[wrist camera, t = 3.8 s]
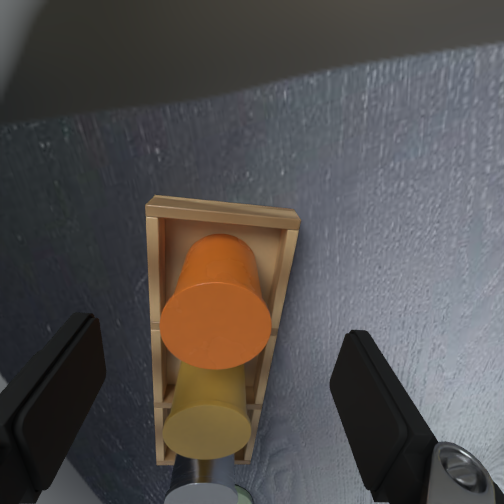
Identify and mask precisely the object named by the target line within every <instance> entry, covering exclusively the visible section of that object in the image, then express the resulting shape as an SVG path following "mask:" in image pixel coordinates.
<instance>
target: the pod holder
mask: <svg viewBox="0 0 504 504" xmlns="http://www.w3.org/2000/svg"><path fill="white" fill-rule="evenodd" d="M145 210H146V232H147V255H148V278H149V300H150V321H151V322H150V323H151V346H152V368H153V391H154V415H155V438H156V460H157V465H174V460H175V454H176V453H175V452H174V451H172V450H171V449H170V448H169V447H168V446H167V445H166V443H165V442H164V439H163V435H162V431H163V426H164V422H165V420H166V418H167V417H168V416H169V414H170V412H171V407H172V402H173V397H174V392H175V388H176V383H177V378H178V373H179V368H180V364H181V360H180V359H178V358H177V357H175V356H174V355H173V354H172V353H171V352H170V351H169V350H168V349H167V347H166V346H165V344H164V342H163V340H162V337H161V334H160V327H159V325H160V318H161V314H162V311H163V309H164V306H165V305H166V303H167V301H168V300H169V299H170V298H171V297H172V295H173V294H174V291H175V288H176V285H177V282H178V279H179V276H180V273H181V270H182V267H183V264H184V261H185V258H186V255H187V253H188V251H189V249H190V248H191V247H192V245H193V244H194V243H195V242H197V241H198V240H199V239H201V238H203V237H205V236H208V235H212V234H229V235H232V236H235V237H237V238H239V239H241V240H243V241H244V242H245V243H246V244H247V245H248V246H249V247H250V248H251V250H252V251H253V253H254V256H255V259H256V264H257V269H258V275H259V281H260V286H261V292H262V298H263V300H264V301H265V303H266V305H267V307H268V309H269V312H270V316H271V321H272V329H271V335H270V338H269V340H268V342H267V344H266V346H265V347H264V348H263V350H262V351H261V352H260V353H259V354H258V355H257V356H255V357H254V358H253V359H251V360H250V361H248V362H246V363H244V371H245V389H246V408H247V415H248V417H249V419H250V422H251V436H250V439H249V441H248V442H247V444H246V445H245V446H244V447H243V448H241V449H240V450H239V451H237V452H235V453H234V454H235V464H250V462H251V457H252V452H253V448H254V443H255V438H256V433H257V429H258V424H259V419H260V414H261V409H262V405H263V400H264V395H265V390H266V386H267V381H268V376H269V371H270V367H271V362H272V357H273V352H274V347H275V343H276V338H277V333H278V327H279V323H280V319H281V314H282V309H283V304H284V300H285V295H286V290H287V285H288V280H289V276H290V271H291V266H292V261H293V257H294V252H295V247H296V242H297V237H298V233H299V231H298V230H299V228H300V223H301V219H300V218H299V216H298V215H297V214H296V212H295V210H294V209H288V208H278V207H268V206H259V205H249V204H239V203H229V202H219V201H209V200H200V199H190V198H180V197H170V196H160V195H155V196H154V197H153V198H152V199H151V200H150V201H149V202H148V203H147V204H146V205H145Z"/></svg>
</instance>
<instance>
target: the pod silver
mask: <svg viewBox="0 0 504 504" xmlns="http://www.w3.org/2000/svg"><path fill="white" fill-rule="evenodd" d="M237 503H238V492H237V490H236V488H235V454H234V453H233V454H231V455H229V456H226V457H222V458H217V459H208V460H201V459H193V458H188V457H184V456H182V455H179V454H177V453H176V454H175V460H174V466H173V472H172V478H171V484H170V489H169V490H168V491H167V493H166V495H165V500H164V504H237Z"/></svg>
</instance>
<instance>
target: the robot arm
mask: <svg viewBox="0 0 504 504" xmlns="http://www.w3.org/2000/svg"><path fill="white" fill-rule="evenodd" d="M105 377H106V366H105V359H104V352H103V345H102V337H101V330H100V323H99V319H98V318H95V317H94V315H93V314H91V313H73V314H72V315H71V316H70V318H69V319H68V320H67V321H66V322H65V323H64V325H63V326H62V327H61V328H60V329H59V330H58V332H57V333H56V334H55V335H54V336H53V337H52V339H51V340H50V341H49V342H48V343H47V344H46V346H45V347H44V348H43V349H42V350H40V351H38V352H37V353H36V354H35V355H34V356H33V357H32V358H31V359H30V360H29V361H28V362H27V364H26V365H25V366H24V367H23V368H22V369H21V370H20V372H19V373H18V374H17V375H16V376H15V377H14V379H13V380H12V381H11V382H10V383H9V384H8V385H7V387H6V388H5V389H4V390H3V391H2V392H1V393H0V504H35V503H36V502H37V500H38V498H39V496H40V494H41V492H42V490H47V489H48V488H49V487H50V485H51V484H52V482H53V480H54V478H55V476H56V474H57V472H58V470H59V468H60V466H61V464H62V462H63V460H64V459H65V457H66V455H67V453H68V451H69V449H70V447H71V445H72V443H73V441H74V439H75V437H76V435H77V433H78V431H79V429H80V427H81V425H82V423H83V421H84V419H85V418H86V416H87V414H88V412H89V410H90V408H91V406H92V404H93V402H94V400H95V398H96V396H97V394H98V392H99V390H100V388H101V386H102V384H103V382H104V380H105ZM330 391H331V394H332V396H333V399H334V402H335V405H336V408H337V411H338V413H339V416H340V419H341V422H342V425H343V427H344V430H345V433H346V436H347V439H348V442H349V444H350V447H351V450H352V453H353V456H354V459H355V461H356V464H357V467H358V470H359V473H360V475H361V478H362V481H363V484H364V486H365V488H366V489H367V490H370V492H371V494H372V497H373V500H374V502H389V503H390V504H504V495H503V494H501V493H500V492H498V491H497V490H495V489H494V485H493V481H492V479H491V477H490V475H489V473H488V471H487V470H486V469H485V467H484V466H483V465H482V464H481V462H480V461H479V460H478V459H477V458H475V457H474V456H473V455H472V454H471V453H470V452H468V451H467V450H465V449H464V448H462V447H460V446H458V445H456V444H454V443H450V442H438V441H437V439H436V438H435V436H434V434H433V433H432V431H431V430H430V428H429V427H428V425H427V423H426V422H425V420H424V419H423V417H422V416H421V414H420V412H419V411H418V409H417V408H416V406H415V405H414V403H413V401H412V400H411V398H410V397H409V395H408V394H407V392H406V390H405V389H404V387H403V386H402V384H401V383H400V381H399V379H398V378H397V376H396V375H395V373H394V372H393V370H392V368H391V367H390V365H389V364H388V362H387V361H386V359H385V357H384V356H383V354H382V353H381V351H380V350H379V348H378V346H377V345H376V343H375V342H374V340H373V339H372V337H371V335H370V334H369V333H368V331H365V330H351V331H350V333H347V334H346V335H345V338H344V341H343V343H342V346H341V349H340V352H339V355H338V358H337V361H336V364H335V367H334V370H333V373H332V376H331V379H330Z"/></svg>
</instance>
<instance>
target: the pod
mask: <svg viewBox="0 0 504 504" xmlns="http://www.w3.org/2000/svg"><path fill="white" fill-rule="evenodd" d="M159 327H160V334H161V337H162V340H163V342H164V344H165V346H166V347H167V349H168V350H169V351H170V352H171V353H172V354H173V355H174V356H175V357H177V358H178V359H180V360H181V361H183V362H185V363H187V364H189V365H192V366H195V367H198V368H203V369H213V370H216V369H228V368H232V367H236V366H239V365H241V364H244V363H246V362H248V361H250V360H251V359H253V358H254V357H255V356H257V355H258V354H259V353H260V352H261V351H262V350H263V348H264V347H265V346H266V344H267V342H268V340H269V338H270V335H271V329H272V321H271V316H270V312H269V309H268V307H267V305H266V303H265V301H264V300H263V298H262V292H261V286H260V281H259V275H258V269H257V264H256V259H255V256H254V253H253V251H252V250H251V248H250V247H249V246H248V245H247V244H246V243H245V242H244V241H243V240H241V239H239V238H237V237H235V236H232V235H229V234H212V235H208V236H205V237H203V238H201V239H199V240H198V241H197V242H195V243H194V244H193V245H192V247H191V248H190V249H189V251H188V253H187V255H186V258H185V261H184V264H183V267H182V270H181V273H180V276H179V279H178V282H177V285H176V288H175V291H174V294H173V295H172V297H171V298H170V299H169V300H168V301H167V303H166V305H165V306H164V309H163V311H162V314H161V318H160V325H159Z"/></svg>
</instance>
